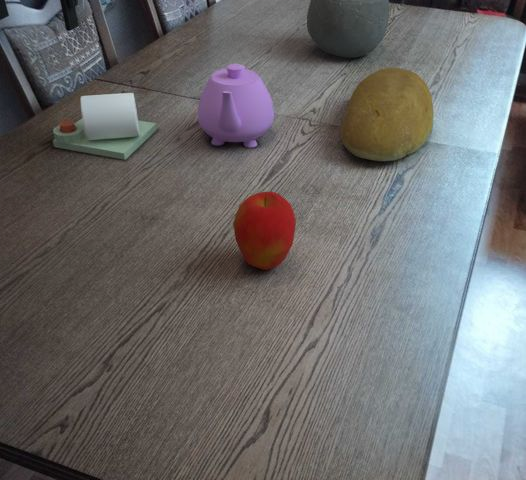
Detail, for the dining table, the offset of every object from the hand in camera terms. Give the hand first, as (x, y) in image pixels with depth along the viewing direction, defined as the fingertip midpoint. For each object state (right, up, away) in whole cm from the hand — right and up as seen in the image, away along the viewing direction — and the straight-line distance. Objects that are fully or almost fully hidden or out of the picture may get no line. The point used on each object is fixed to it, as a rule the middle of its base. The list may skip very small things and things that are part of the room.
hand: (37, 23), depth 93 cm
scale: (+6, -12, +20) cm, 24 cm away
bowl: (+60, +25, +56) cm, 86 cm away
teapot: (+33, -12, +21) cm, 40 cm away
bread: (+65, -9, +24) cm, 70 cm away
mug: (+8, -11, +19) cm, 23 cm away
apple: (+39, -42, -8) cm, 58 cm away
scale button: (0, -12, +16) cm, 20 cm away
